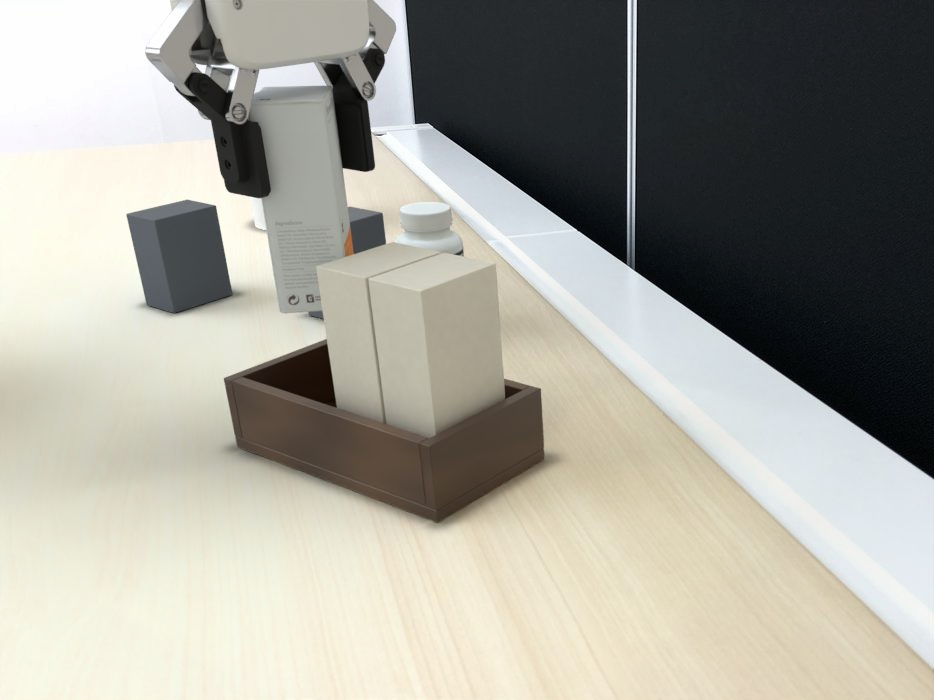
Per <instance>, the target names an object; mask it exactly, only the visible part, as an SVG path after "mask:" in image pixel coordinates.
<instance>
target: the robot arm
mask: <svg viewBox="0 0 934 700" xmlns="http://www.w3.org/2000/svg"><path fill="white" fill-rule="evenodd" d="M169 2H170V8H171V11H170V12H169V14H168V15H167V17H166V18H165V20H164V21H163V23H162V24H161V25H160V26H159V28H158V29H157V30H156V32H155V33H154V35H153V37H152V38H151V39H150V41H149V42H148V43H147V44H146V47H145V49H144V51H145V53H144V54H145V57H146V59H147V60H148V62H150V64H152V66H153V67H155V69H156V70H158V72H159V73H160V74H161V75H162V76H163V77H164V78H166V80H167V81H168V82H170V83H172V85H173V87H174V89H175V91H176V92H177V93H178V94H179V95H180V96H181V97H182V98H183V99H185V100H186V101H187V102H188V103H190V104H191V105H192V106H193V107H194V108H196V109H197V112H198V114H199V116H200V117H201V118H202V119H203V120H207V121H210V122H211V124H210V125H211V129H212V134H213V139H214V146H215V151H216V157H217V161H218V168H219V172H220V175H221V177H222V179H223V182H224V183H223V184H224V187H225V189H226V191H227V192H228V193H230V194H233V195H240V196H243V197H244V196H245V197H249V198H250V197H254V198H263V197H267V196H269V193H270V192H271V187H270V181H269V174H268V168H267V162H266V156H265V150H264V144H263V138H262V131H261V127H260V126H259V123H258V122H253V121H249V120H248V117H249V113H250V108H251V104H252V100H253V96H254V94H255V91H256V87H257V83H258V78H259V74H260V70H269V69H276V68H283V67H290V66H291V67H292V66H296V65H305V64H311V63H314V66H315V67H316V69H317V71H318V73H319V74H320V76H321V78H322V80H323V82H324V84H325V86H331V87H332V91H333V99H334V106H335V113H336V121H337V129H338V136H339V144H340V152H341V159H342V167H343V170H344V169H345V170H351V171H356V172H364V173H368V172H372V171H374V170H375V168H376V159H375V153H374V152H375V151H374V145H373V143H374V142H373V136H372V128H371V117H370V111H369V103H368V102H370V101H372V100H374V98H375V97H376V95H377V87H376V82H377V80H378V78H379V76H380V74H381V72H382V70H383V69H384V67H385V64H386V56H385V55H387V53H388V52H389V49H390V47H391V44H392V41H393V39H394V37H395V35H396V32H397V24H396V21H395V20H394V19H393V18H392V17H391V16H390V15H389V14H388V13H387V12H386V11H385V10H384V9H383V7H381V6H380V5H379V4H378V3H377V2H376V1H375V0H169ZM197 65H200V66H206V67H205V71H204V72H202V71H201V70H200V69H199V68H198V67H197Z"/></svg>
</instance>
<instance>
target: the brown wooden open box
mask: <svg viewBox="0 0 934 700" xmlns="http://www.w3.org/2000/svg"><path fill="white" fill-rule="evenodd" d="M223 383H224V387H225V392H226V397H227V398H226V399H227V402H228V408H229V413H230V417H231V423H232V428H233V432H234V436H235V442H236V447H237V448H240V449H241V450H243V451H247V452H249V453H252V454H255V455H258V456H260V457H263V458H266V459H268V460H271V461H273V462H276V463H279V464H281V465H284V466H287V467H290V468H292V469H295V470H298V471H300V472H303V473H305V474H308V475H311V476H313V477H316V478H319V479H321V480H323V481H327V482H329V483H332V484H334V485H337V486H340V487H342V488H345V489H348V490H351V491H353V492H356V493H358V494H361V495H363V496H366V497H369V498H371V499H374V500H377V501H380V502H382V503H385V504H388V505H390V506H393V507H396V508H398V509H401V510H403V511H406V512H409V513H411V514H414V515H417V516H420V517H421V518H424V519H427V520H429V521H432V522H435V523H439V522H442V521H443V520H445V519H446V518H448V517H450V516H452V515H453V514H455V513H457V512H458V511H460V510H461V509H463V508H465V507H467V506H468V505H470V504H471V503H473V502H475V501H476V500H478V499H480V498H482V497H483V496H485V495H487V494H488V493H491V492H492V491H493V490H495V489H497V488H498V487H501V486H502V485H504V484H505V483H507V482H508V481H510V480H513V478H515V477H517V476H519V475H520V474H522V473H524V472H526V471H527V470H528V469H531V468H532V467H534V466H535V465H537V464H539V463H540V462H542V461H544V460H545V459H546V458H545V457H546V456H545V438H544V418H543V401H542V400H543V399H542V389H541V388H540V387H537V386H533V385H529V384H526V383H521V382H519V381H515V380H511V379H508V378H504V386H505V400H503V401H501V402H499V403H497V404H495V405H493V406H491V407H489V408H487V409H485V410H483V411H481V412H479V413H477V414H475V415H473V416H471V417H469V418H468V419H466V420H464V421H462V422H460V423H458V424H456V425H454V426H452V427H450V428H448V429H446V430H444V431H442V432H440V433H438V434H436V435H434V436H432V437H430V438H427V437H424V436H421V435H418V434H415V433H412V432H409V431H406V430H403V429H400V428H397V427H394V426H391V425H388V424H385V423H382V422H378V421H375V420H372V419H369V418H366V417H363V416H360V415H357V414H354V413H351V412H348V411H345V410H342V409H339V408H337V405H336V398H335V391H334V384H333V378H332V371H331V364H330V357H329V351H328V344H327V338H325V339H322V340H319V341H317V342H315V343H312V344H309V345H307V346H305V347H302V348H298V349H296V350H294V351H291V352H288V353H286V354H283V355H280V356H278V357H276V358H273V359H270V360H267V361H264V362H262V363H260V364H256V365H254V366H252V367H249V368H247V369H244V370H241V371H238V372H235V373H234V374H231V375H227V376H225V377H223Z"/></svg>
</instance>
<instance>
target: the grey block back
mask: <svg viewBox="0 0 934 700" xmlns="http://www.w3.org/2000/svg"><path fill="white" fill-rule="evenodd" d="M125 215H126V221H127V224H128V228H129V233H130V238H131V242H132V247H133V251H134V256H135V259H136V263H137V267H138V268H137V269H138V272H139V279H140V282H141V286H142V291H143V294H144V298H145V305H146V306H148V307H152V308H156V309H159V310H162V311H164V312H165V311H166V312H169V313H173V314H176V313H180V312H183V311H186V310H189V309H192V308H195V307H198V306H202V305H205V304H208V303H211V302H214V301H218V300H221V299H224V298H227V297H229V296H233V291H232V290H233V289H232V284H231V279H230V273H229V267H228V263H227V257H226V253H225V252H226V251H225V246H224V241H223V235H222V231H221V225H220V220H219V215H218V209H217V205H215V204H210V203H205V202H202V201H196V200H191V199H184V200H179V201H175V202H171V203H166V204H162V205H158V206H153V207H149V208H145V209H141V210H137V211H132V212H128V213H126V214H125Z"/></svg>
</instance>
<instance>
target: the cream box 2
mask: <svg viewBox="0 0 934 700" xmlns="http://www.w3.org/2000/svg"><path fill="white" fill-rule="evenodd" d="M497 274H498V273H497V263H495V262H491V261H487V260H482V259H476V258H472V257H467V256H464V257H463V256H458V255H453V254H449V253H442V254H439V255H436V256H433V257H430V258H427V259H424V260H421V261H418V262H415V263H412V264H409V265H407V266H404V267H401V268H398V269H395V270H392V271H389V272H386V273H383V274H380V275H377V276H374V277H371V278H369V279H368V281H369V289H370V297H371V305H372V313H373V321H374V328H375V336H376V344H377V352H378V360H379V368H380V376H381V384H382V392H383V400H384V407H385V415H386V423H387V424H388V425H391V426H394V427H397V428H400V429H403V430H406V431H409V432H412V433H415V434H418V435H421V436H424V437H427V438H430V437H432V436H434V435H436V434H438V433H440V432H442V431H444V430H446V429H448V428H450V427H452V426H454V425H456V424H458V423H460V422H462V421H464V420H466V419H468V418H469V417H471V416H473V415H475V414H477V413H479V412H481V411H483V410H485V409H487V408H489V407H491V406H493V405H495V404H497V403H499V402H501V401H503V400H505V386H504V379H505V374H504V360H503V346H502V332H501V331H502V330H501V317H500V303H499V290H498V289H499V288H498V287H499V286H498V275H497Z"/></svg>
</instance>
